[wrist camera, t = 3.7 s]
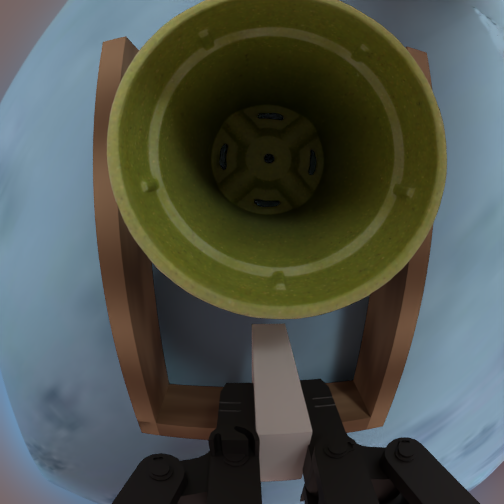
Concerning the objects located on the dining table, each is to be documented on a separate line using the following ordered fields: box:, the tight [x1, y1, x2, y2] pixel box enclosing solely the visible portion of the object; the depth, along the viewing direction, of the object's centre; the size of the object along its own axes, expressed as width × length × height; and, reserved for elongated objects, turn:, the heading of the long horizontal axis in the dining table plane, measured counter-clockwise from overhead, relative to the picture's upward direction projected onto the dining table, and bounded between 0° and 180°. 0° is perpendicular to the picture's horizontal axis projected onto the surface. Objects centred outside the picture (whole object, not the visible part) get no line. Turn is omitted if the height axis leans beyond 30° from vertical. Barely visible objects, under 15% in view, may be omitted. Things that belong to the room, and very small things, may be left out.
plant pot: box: [107, 0, 447, 319], centre depth 11 cm, size 9×9×9 cm
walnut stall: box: [93, 37, 433, 440], centre depth 14 cm, size 22×15×4 cm
